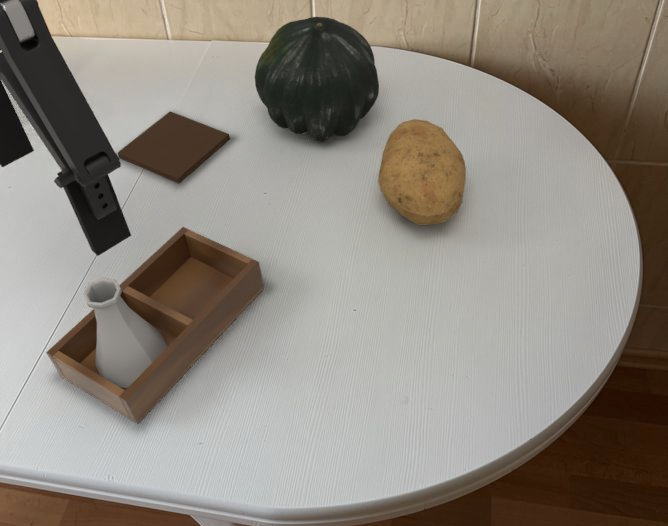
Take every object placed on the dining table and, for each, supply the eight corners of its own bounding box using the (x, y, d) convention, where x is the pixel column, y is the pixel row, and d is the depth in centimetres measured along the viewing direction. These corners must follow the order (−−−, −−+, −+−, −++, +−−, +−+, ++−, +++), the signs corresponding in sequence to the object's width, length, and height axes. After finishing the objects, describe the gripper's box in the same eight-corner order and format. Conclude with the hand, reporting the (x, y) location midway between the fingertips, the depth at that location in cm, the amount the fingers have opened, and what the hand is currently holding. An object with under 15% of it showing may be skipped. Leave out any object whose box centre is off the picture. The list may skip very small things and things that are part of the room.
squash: (294, 32, 94) (254, -18, 79) (401, 53, 90) (379, 5, 76) (268, 138, 96) (223, 108, 81) (372, 163, 92) (345, 136, 78)
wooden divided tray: (61, 377, 68) (45, 352, 65) (191, 253, 77) (183, 226, 74) (137, 424, 64) (125, 400, 61) (264, 288, 74) (259, 261, 70)
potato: (384, 253, 76) (385, 196, 69) (372, 170, 84) (371, 112, 78) (475, 246, 76) (483, 188, 69) (453, 163, 84) (459, 105, 78)
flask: (170, 325, 71) (143, 254, 63) (172, 383, 66) (144, 315, 58) (97, 337, 70) (61, 267, 62) (95, 396, 66) (56, 330, 58)
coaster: (118, 157, 88) (116, 152, 88) (171, 116, 93) (169, 110, 92) (178, 183, 85) (177, 178, 84) (230, 139, 89) (229, 133, 89)
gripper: (108, -99, 30) (205, 255, 47) (-121, -211, 41) (24, 106, 58) (-58, -36, 27) (110, 318, 44) (-254, -175, 38) (-62, 147, 55)
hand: (61, 197), depth 51 cm, fingers open, 13 cm apart
